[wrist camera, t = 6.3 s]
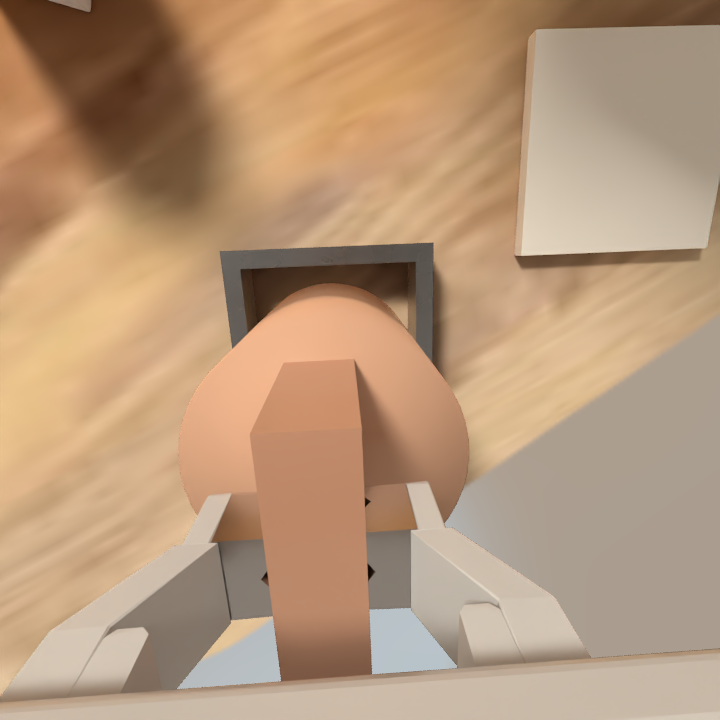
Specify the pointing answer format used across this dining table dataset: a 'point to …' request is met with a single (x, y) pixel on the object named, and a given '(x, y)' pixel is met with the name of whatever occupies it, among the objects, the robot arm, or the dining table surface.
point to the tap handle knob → (322, 456)
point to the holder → (417, 256)
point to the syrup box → (76, 4)
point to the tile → (619, 139)
